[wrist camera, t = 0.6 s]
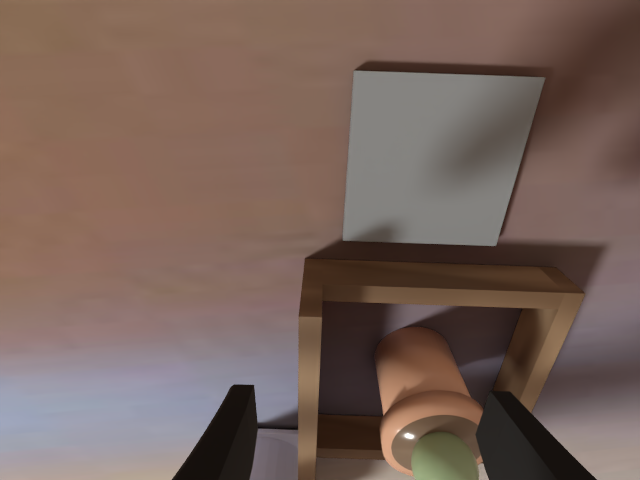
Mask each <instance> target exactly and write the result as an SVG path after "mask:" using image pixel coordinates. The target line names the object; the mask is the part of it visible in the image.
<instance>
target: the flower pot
mask: <svg viewBox="0 0 640 480" xmlns="http://www.w3.org/2000/svg"><path fill="white" fill-rule="evenodd" d="M374 359H375V365H376V371H377V378H378V384H379V390H380V396H381V402H382V408H383V414H384V416H383V417H382V420H381V422H380V429H379V430H380V437H381V444H382V451H383V455H384V457H385V459H386V461H387V462H388V463H389V464H390V465H391V466H392V467H393V468H395V469H396V470H398V471H400V472H402V473H404V474H407V475H410V476H414V479H415V480H479V469H478V465H479V464H480V463H481V462H483V460H482V457H481V453H480V450H479V446H478V443H477V439H476V435H475V434H476V431H477V428H478V425H479V422H480V419H481V416H482V413H483V410H484V409H483V408H482V406H481V405H480V404H479V403H478V402H477V401H475V400H474V399H472V398H471V397H470V394H469V392H468V390H467V387H466V385H465V383H464V380H463V378H462V376H461V374H460V371H459V369H458V367H457V364H456V362H455V360H454V357H453V355H452V353H451V351H450V348H449V346H448V344H447V342H446V340H445V339H444V337H443V336H442V335H440V334H439V333H438V332H436V331H434V330H432V329H428V328H424V327H406V328H402V329H399V330H396V331H394V332H392V333H390V334H388V335H387V336H386V337H384V338H383V339H382V340H381V342H380V343H379V344H378V346H377V348H376V350H375V355H374Z"/></svg>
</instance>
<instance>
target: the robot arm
mask: <svg viewBox="0 0 640 480" xmlns="http://www.w3.org/2000/svg"><path fill="white" fill-rule="evenodd" d="M475 435H476V439H477V443H478V446H479V450H480V453H481V457H482V460H483V463H484V467H485V470H486V473H487V475H488V478H489V480H597V479H596V478H595V477H594V476H592V475H591V474H590V473H589V472H588V471H587V470H586V469H585V468H584V467H583V466H582V465H581V464H580V463H579V462H578V461H577V460H576V459H575V458H574V457H573V456H572V455H571V454H570V453H569V452H568V451H567V450H566V449H565V448H564V447H563V446H562V445H561V444H560V443H559V442H558V441H557V440H556V439H555V438H554V437H553V436H552V435H551V434H550V432H549V431H548V430H547V429H546V428H545V427H544V426H543V425H542V424H541V423H540V422H539V421H538V420H537V419H536V418H535V417H534V416H533V415H532V414H531V413H530V412H529V411H528V409H527V408H526V407H525V406H524V405H523V404H522V403H521V402H520V401H519V400H518V399H517V398H516V397H515V396H514V395H513V394H512V393H511V392H510V391H490V392H489V395H488V398H487V401H486V404H485V407H484V410H483V413H482V416H481V419H480V422H479V425H478V428H477V431H476V434H475ZM172 480H298V430H285V429H258V424H257V413H256V402H255V391H254V385H233V386H232V387H231V388H230V389H229V391H228V393H227V395H226V397H225V399H224V401H223V402H222V404H221V406H220V408H219V409H218V411H217V413H216V415H215V416H214V418H213V419H212V421H211V423H210V424H209V426H208V428H207V429H206V431H205V432H204V434H203V435H202V437H201V438H200V440H199V441H198V443H197V444H196V446H195V448H194V449H193V451H192V452H191V454H190V455H189V457H188V458H187V459H186V461H185V462H184V464H183V465H182V466H181V468H180V469H179V471H178V472H177V473H176V475H175V476H174V477H173V479H172Z"/></svg>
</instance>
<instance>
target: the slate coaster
mask: <svg viewBox="0 0 640 480" xmlns="http://www.w3.org/2000/svg"><path fill="white" fill-rule="evenodd" d="M544 81H545V77H524V76H496V75H468V74H440V73H412V72H384V71H355V70H354V74H353V89H352V104H351V118H350V133H349V148H348V162H347V177H346V192H345V207H344V221H343V241H367V242H395V243H423V244H451V245H480V246H496V244H497V241H498V237H499V234H500V230H501V227H502V224H503V220H504V217H505V213H506V210H507V207H508V203H509V200H510V196H511V193H512V189H513V186H514V183H515V179H516V176H517V172H518V169H519V166H520V162H521V159H522V155H523V152H524V149H525V145H526V142H527V138H528V135H529V132H530V128H531V125H532V121H533V118H534V115H535V111H536V108H537V104H538V101H539V98H540V94H541V91H542V87H543V84H544Z"/></svg>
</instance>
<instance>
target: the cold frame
mask: <svg viewBox="0 0 640 480" xmlns="http://www.w3.org/2000/svg"><path fill="white" fill-rule="evenodd" d="M584 296H585V293H584V292H583V291H582V290H581V289H580V288H579V287H577V286H576V285H575V284H574V283H573V282H572V281H571V280H570V279H568V278H567V277H566V276H565V275H564V274H563V273H562V272H561V271H559V270H558V269H557V268H556V267H532V266H503V265H475V264H447V263H419V262H390V261H362V260H334V259H306V258H305V264H304V273H303V282H302V291H301V301H300V310H299V370H298V480H315V468H316V457H320V458H348V459H376V460H386V459H385V457H384V455H383V451H382V444H381V437H380V430H379V429H380V422H381V420H382V417H380V416H352V415H324V414H318V399H319V376H320V353H321V330H322V301H339V302H367V303H395V304H424V305H452V306H480V307H508V308H523V309H522V312H521V314H520V317H519V320H518V322H517V325H516V328H515V331H514V333H513V336H512V339H511V342H510V344H509V347H508V350H507V352H506V355H505V358H504V361H503V363H502V366H501V369H500V372H499V374H498V377H497V380H496V382H495V385H494V388H493V391H510V392H511V393H512V394H513V395H514V396H515V397H516V398H517V399H518V400H519V401H520V402H521V403H522V404H523V405H524V406H525V407H526V408H527V409H528V411H529V412H530V413H531V412H532V410H533V408H534V406H535V403H536V401H537V399H538V397H539V395H540V392H541V390H542V388H543V386H544V384H545V382H546V379H547V377H548V375H549V373H550V371H551V368H552V366H553V364H554V362H555V360H556V357H557V355H558V353H559V351H560V349H561V347H562V344H563V342H564V340H565V338H566V336H567V333H568V331H569V329H570V327H571V325H572V323H573V320H574V318H575V316H576V314H577V312H578V309H579V307H580V305H581V303H582V301H583V298H584ZM481 463H483V462H481Z"/></svg>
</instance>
